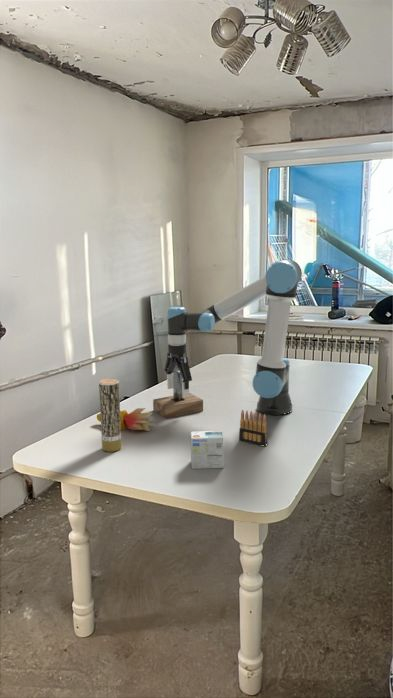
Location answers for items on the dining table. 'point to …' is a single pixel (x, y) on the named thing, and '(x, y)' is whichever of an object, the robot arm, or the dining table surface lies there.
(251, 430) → the ammunition clip
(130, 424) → the torch
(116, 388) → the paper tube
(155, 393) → the dining table surface
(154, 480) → the dining table surface
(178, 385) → the pin
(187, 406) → the bore block
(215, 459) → the light bulb box
